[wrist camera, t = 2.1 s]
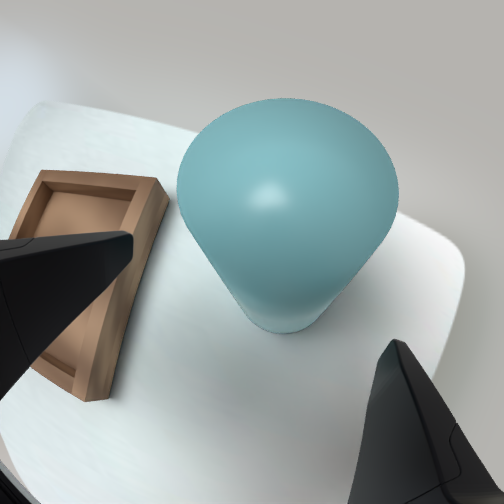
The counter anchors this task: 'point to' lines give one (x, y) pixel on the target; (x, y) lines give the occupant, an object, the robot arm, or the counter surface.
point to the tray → (120, 290)
